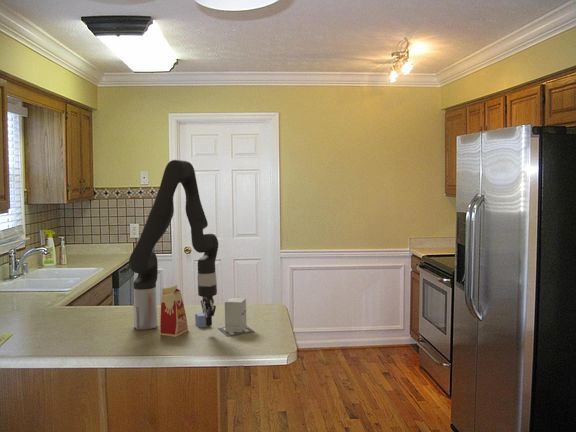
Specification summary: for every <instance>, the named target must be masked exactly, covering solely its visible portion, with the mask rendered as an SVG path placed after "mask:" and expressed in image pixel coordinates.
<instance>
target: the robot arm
mask: <svg viewBox="0 0 576 432" xmlns="http://www.w3.org/2000/svg"><path fill="white" fill-rule="evenodd" d="M161 178H162V179H161V181H160V185H159V188H158V191H157V193H156V197H155V199H154V202H153V204H152V206H151V209H150V211H149V213H148V217H147V219H146V222H145V223H144V227H143V229H142V231H141V234H140V237H139V239H138V241H137V242H136V245H135V247H134V249H133V251H132V253H131V254H130V256H129V258H128V266H129V269H130V270H131V272H133V273H134V274H137V276H136V279H134V281H133V301H134V303H133V305H132V306H133V323H134V324H133V326H134V328H135V329H136V331H138V330H139V331H140V330H152V329H155V328H157V327H158V307H157V305H158V304H157V281H158V271H159V270H158V257H157V255H156V252H155V251H154V249H155V246H156V245H157V243H158V242H159V241H160V240H161V238H162V237H163V235H164V234H165V233H166V232H167V230H168V228H169V226H170V224H171V221H172V219H173V216H174V212H175V211H174V210H175V207H174V197H175V192H176V190H177V188H178V185H179V183H180V184H181V185H182V187H183V190H184V194H185V208H184V209H185V215H186V218H187V221H188V224H189V227H190V236H191V245H192V248H193V249H194V251H196V252H197V253H199V254H201V253H202V254H203V255H202V257H200V258H199V259H198V260H197V294H198V296H199V297H202V300H200V305H201V309H202V313H203V314H204V315H205V316H206V317H205V319H206V325H207V327H211V326H212V325H213V317H214V316H215V313H216V309H217V306H216V304H215V300H214V296H217V294H218V286H217V285H218V284H217V283H218V282H217V273H216V259H217V256H218V251H219V239H218V238H217V236H216V234H214V233H206V234H205V233H204V230H205V229H206V228H207V227H208V226H209V225H208V224H209V223H208V220H207V216H206V214H205V211H204V208H203V205H202V201H201V199H200V193H199V187H198V182H197V177H196V170H195V168H194V166H193V164H192V163H191V162H189V161H186V160H183V159H182V160H181V159H171V160H170V161H168V162H167V164H166V166H165V168H164V170H163V174H162V177H161Z"/></svg>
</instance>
